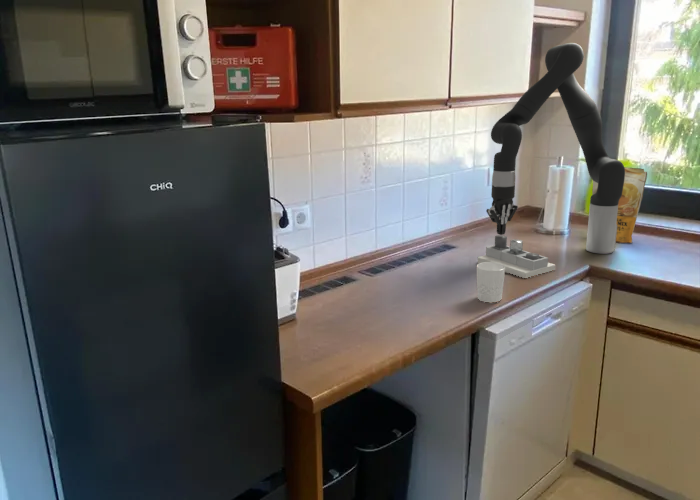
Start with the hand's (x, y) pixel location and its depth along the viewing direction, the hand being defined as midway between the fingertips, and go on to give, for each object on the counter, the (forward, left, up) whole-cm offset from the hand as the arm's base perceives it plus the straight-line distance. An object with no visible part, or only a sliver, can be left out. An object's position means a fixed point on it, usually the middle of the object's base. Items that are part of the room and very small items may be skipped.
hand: (500, 234), depth 196 cm
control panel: (0, +7, -10) cm, 12 cm away
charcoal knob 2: (0, +14, -7) cm, 16 cm away
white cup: (+29, +24, -10) cm, 38 cm away
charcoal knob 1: (0, 0, -4) cm, 4 cm away
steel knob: (0, +7, -4) cm, 8 cm away
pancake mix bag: (-55, +5, -10) cm, 56 cm away
